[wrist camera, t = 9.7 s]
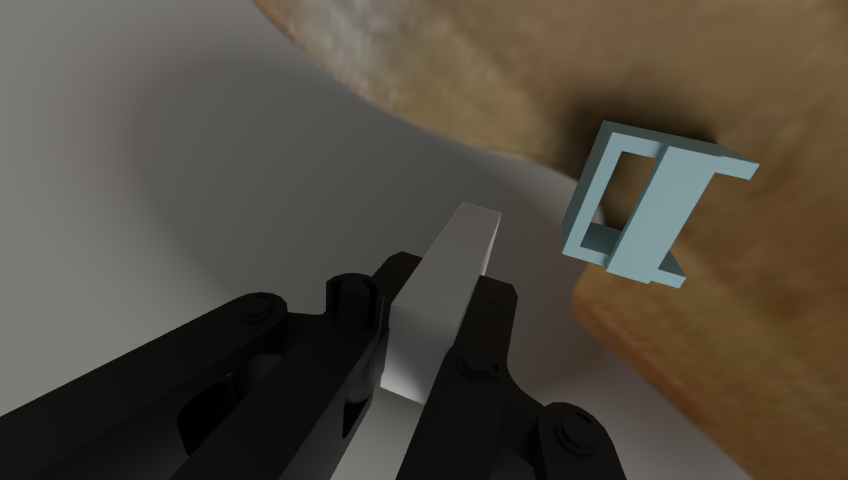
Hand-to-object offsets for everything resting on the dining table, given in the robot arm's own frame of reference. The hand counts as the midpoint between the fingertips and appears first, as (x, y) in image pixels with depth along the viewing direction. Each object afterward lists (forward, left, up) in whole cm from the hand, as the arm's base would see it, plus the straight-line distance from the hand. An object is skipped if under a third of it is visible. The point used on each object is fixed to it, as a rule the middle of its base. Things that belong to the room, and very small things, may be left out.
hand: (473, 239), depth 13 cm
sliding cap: (+9, 0, -14) cm, 17 cm away
